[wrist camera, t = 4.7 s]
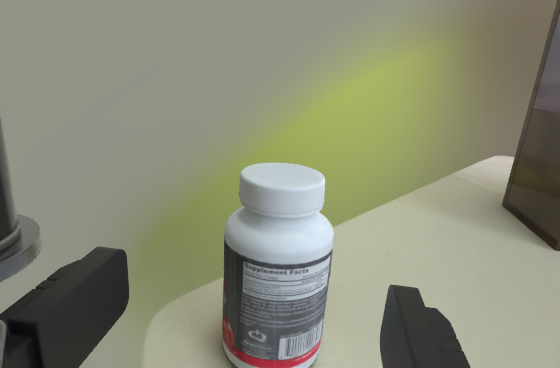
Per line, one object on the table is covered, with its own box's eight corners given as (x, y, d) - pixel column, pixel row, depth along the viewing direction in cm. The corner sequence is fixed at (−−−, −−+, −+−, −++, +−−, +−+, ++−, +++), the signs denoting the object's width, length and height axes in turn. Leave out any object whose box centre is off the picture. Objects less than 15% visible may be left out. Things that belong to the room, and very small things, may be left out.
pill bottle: (228, 309, 23) (233, 155, 20) (315, 314, 23) (333, 161, 20) (213, 381, 18) (217, 188, 15) (325, 387, 18) (351, 197, 15)
